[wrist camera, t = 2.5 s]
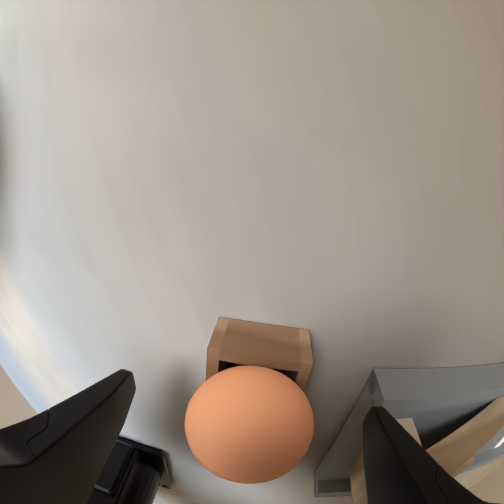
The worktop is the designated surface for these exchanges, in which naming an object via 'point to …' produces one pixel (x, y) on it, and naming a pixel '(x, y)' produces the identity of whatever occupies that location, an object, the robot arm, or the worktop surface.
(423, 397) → the lane
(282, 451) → the ball
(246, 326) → the open wooden cube
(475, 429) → the ramp
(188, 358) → the worktop surface
